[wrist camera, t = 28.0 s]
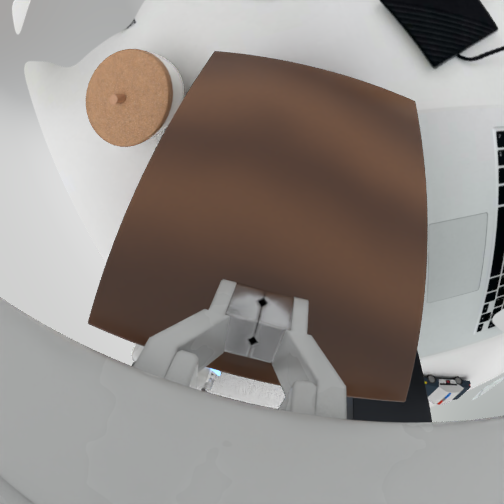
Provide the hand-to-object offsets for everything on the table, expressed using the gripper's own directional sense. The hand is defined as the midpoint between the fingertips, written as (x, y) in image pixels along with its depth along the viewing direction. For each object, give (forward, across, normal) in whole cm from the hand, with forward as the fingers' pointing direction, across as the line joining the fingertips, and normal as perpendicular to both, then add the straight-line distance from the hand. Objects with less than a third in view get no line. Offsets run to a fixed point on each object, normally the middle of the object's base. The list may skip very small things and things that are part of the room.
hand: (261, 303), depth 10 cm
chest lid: (+6, 0, -3) cm, 6 cm away
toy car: (+26, -45, +37) cm, 64 cm away
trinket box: (+26, +18, -4) cm, 32 cm away
